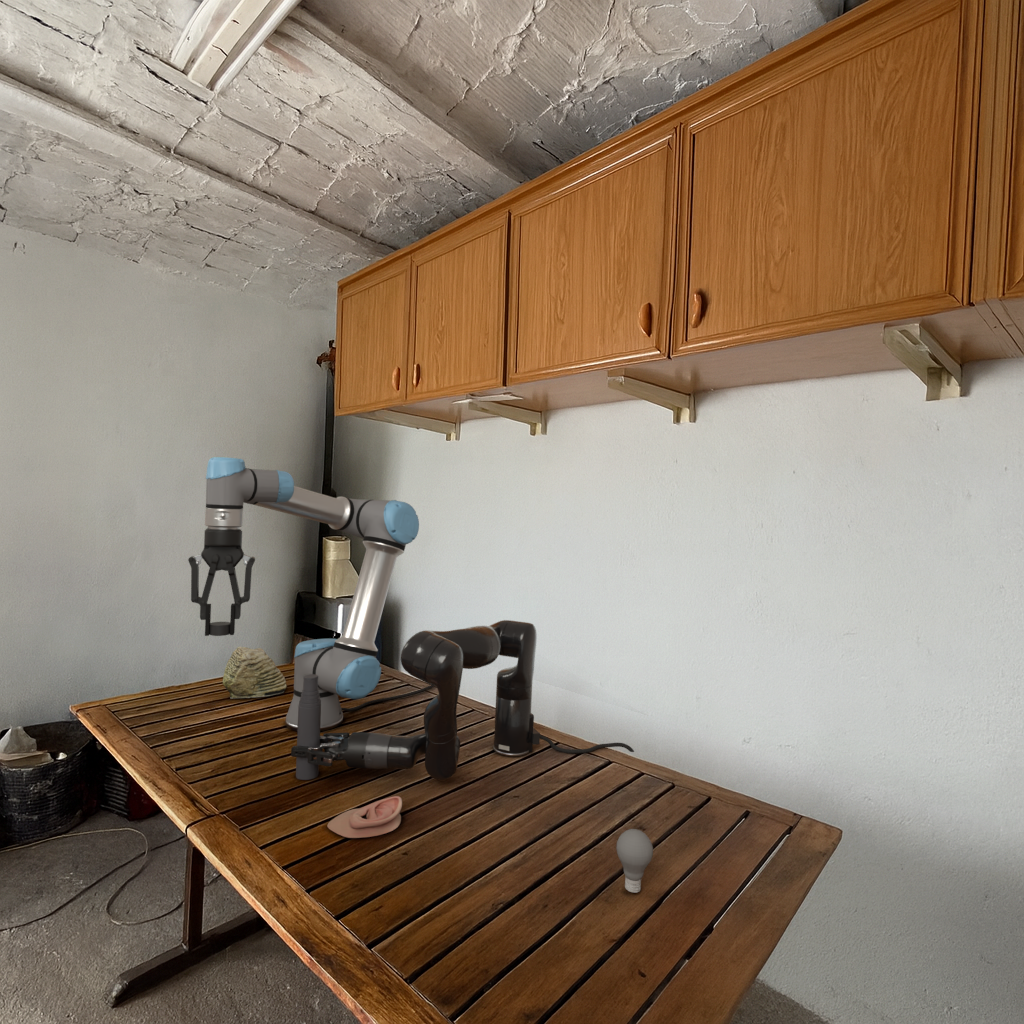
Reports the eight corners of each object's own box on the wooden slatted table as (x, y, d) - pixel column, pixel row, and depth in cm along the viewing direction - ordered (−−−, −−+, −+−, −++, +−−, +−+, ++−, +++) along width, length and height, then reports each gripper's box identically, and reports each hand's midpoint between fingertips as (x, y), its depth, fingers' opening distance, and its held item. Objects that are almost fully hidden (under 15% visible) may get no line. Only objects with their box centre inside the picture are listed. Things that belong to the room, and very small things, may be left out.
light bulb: (610, 879, 108) (613, 822, 108) (644, 879, 109) (647, 822, 109) (619, 902, 102) (622, 840, 102) (655, 901, 103) (658, 840, 103)
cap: (234, 633, 141) (235, 622, 141) (220, 636, 136) (221, 626, 136) (219, 631, 142) (219, 620, 142) (204, 634, 138) (204, 624, 138)
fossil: (218, 695, 195) (220, 647, 195) (278, 685, 208) (279, 640, 207) (228, 703, 189) (230, 653, 188) (289, 692, 201) (290, 645, 201)
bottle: (302, 782, 140) (306, 680, 140) (291, 774, 144) (295, 675, 143) (322, 775, 144) (326, 676, 143) (311, 768, 147) (315, 671, 147)
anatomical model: (320, 812, 119) (347, 786, 130) (319, 833, 119) (347, 805, 130) (386, 822, 116) (408, 795, 127) (385, 844, 116) (408, 814, 128)
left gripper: (176, 527, 132) (172, 639, 133) (265, 530, 138) (261, 636, 139) (182, 526, 139) (178, 631, 140) (266, 528, 145) (262, 629, 146)
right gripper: (379, 723, 150) (308, 719, 151) (362, 746, 136) (284, 741, 136) (377, 754, 150) (307, 750, 151) (361, 781, 136) (283, 776, 136)
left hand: (219, 633), depth 139 cm, fingers closed on cap, 4 cm apart
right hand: (296, 746), depth 144 cm, fingers closed on bottle, 5 cm apart
